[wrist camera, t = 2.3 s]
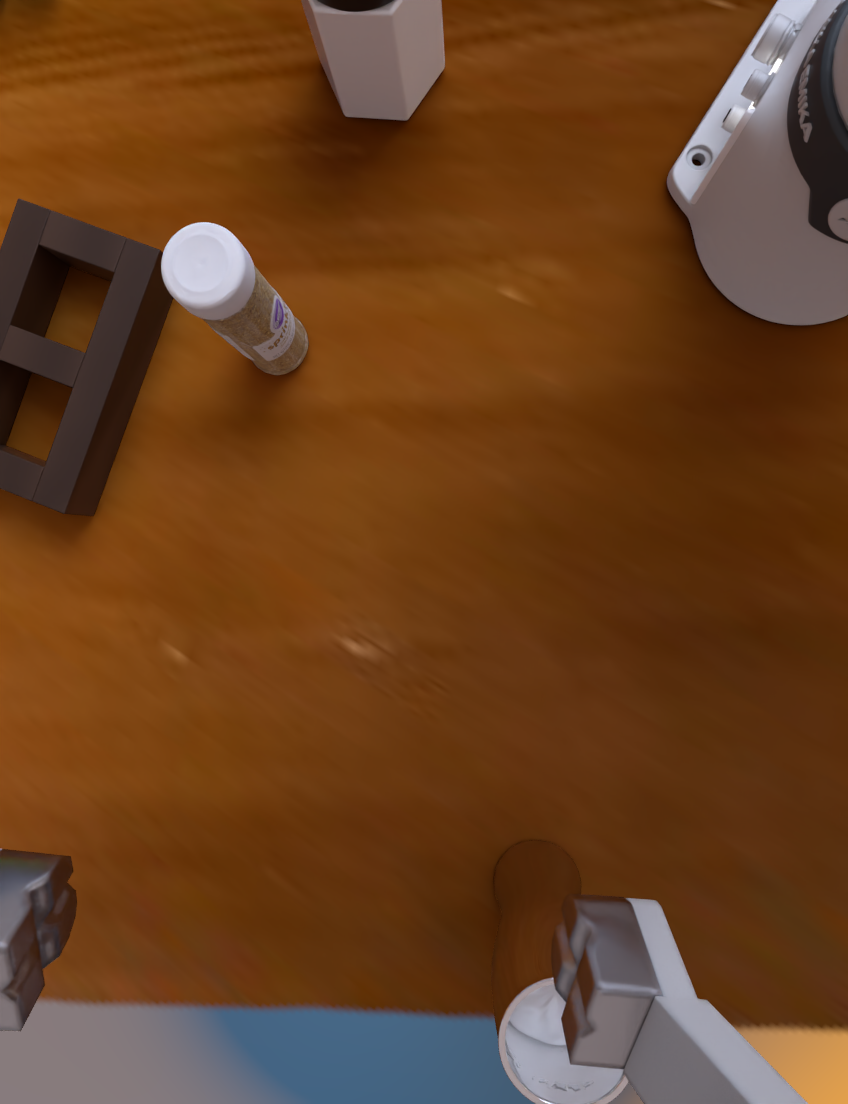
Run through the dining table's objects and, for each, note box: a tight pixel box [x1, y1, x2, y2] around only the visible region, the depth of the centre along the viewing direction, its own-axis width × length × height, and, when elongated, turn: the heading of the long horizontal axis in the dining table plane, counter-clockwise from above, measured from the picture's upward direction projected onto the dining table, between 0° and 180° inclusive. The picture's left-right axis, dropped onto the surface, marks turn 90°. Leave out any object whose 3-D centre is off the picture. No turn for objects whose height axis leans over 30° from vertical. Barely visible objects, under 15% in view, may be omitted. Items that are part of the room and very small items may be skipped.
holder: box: [0, 199, 173, 516], centre depth 46 cm, size 11×19×4 cm, turn 159°
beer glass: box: [491, 840, 629, 1104], centre depth 38 cm, size 7×7×15 cm
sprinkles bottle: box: [161, 222, 309, 375], centre depth 40 cm, size 5×5×13 cm
